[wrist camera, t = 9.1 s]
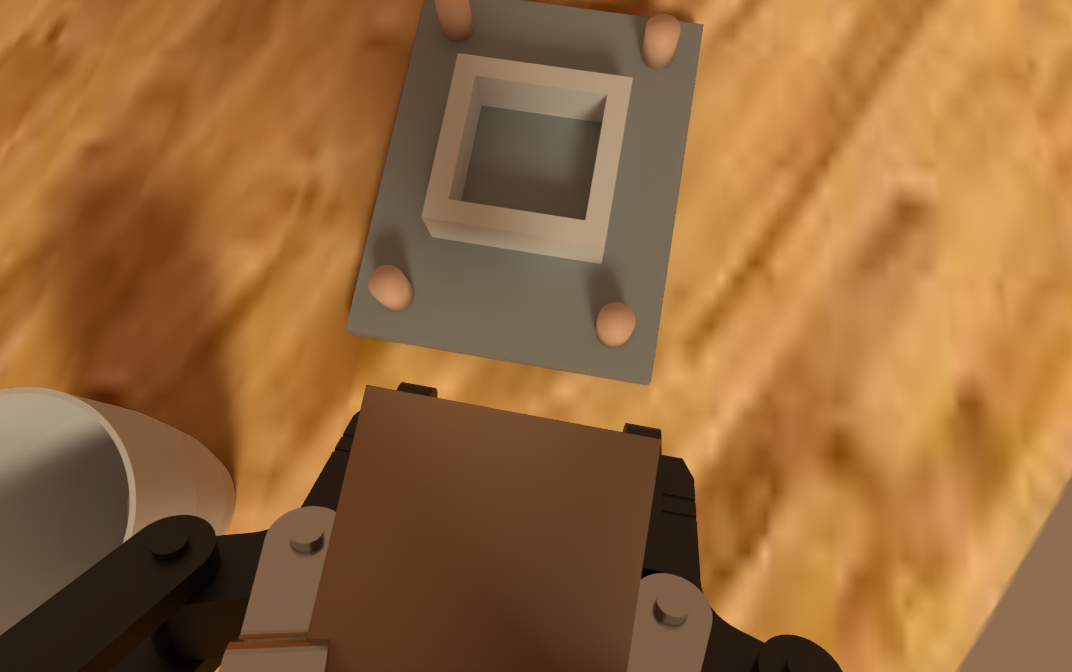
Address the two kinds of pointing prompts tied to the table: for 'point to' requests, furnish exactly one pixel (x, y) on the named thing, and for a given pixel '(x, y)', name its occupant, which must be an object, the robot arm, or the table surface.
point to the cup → (89, 488)
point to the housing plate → (532, 186)
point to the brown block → (484, 541)
